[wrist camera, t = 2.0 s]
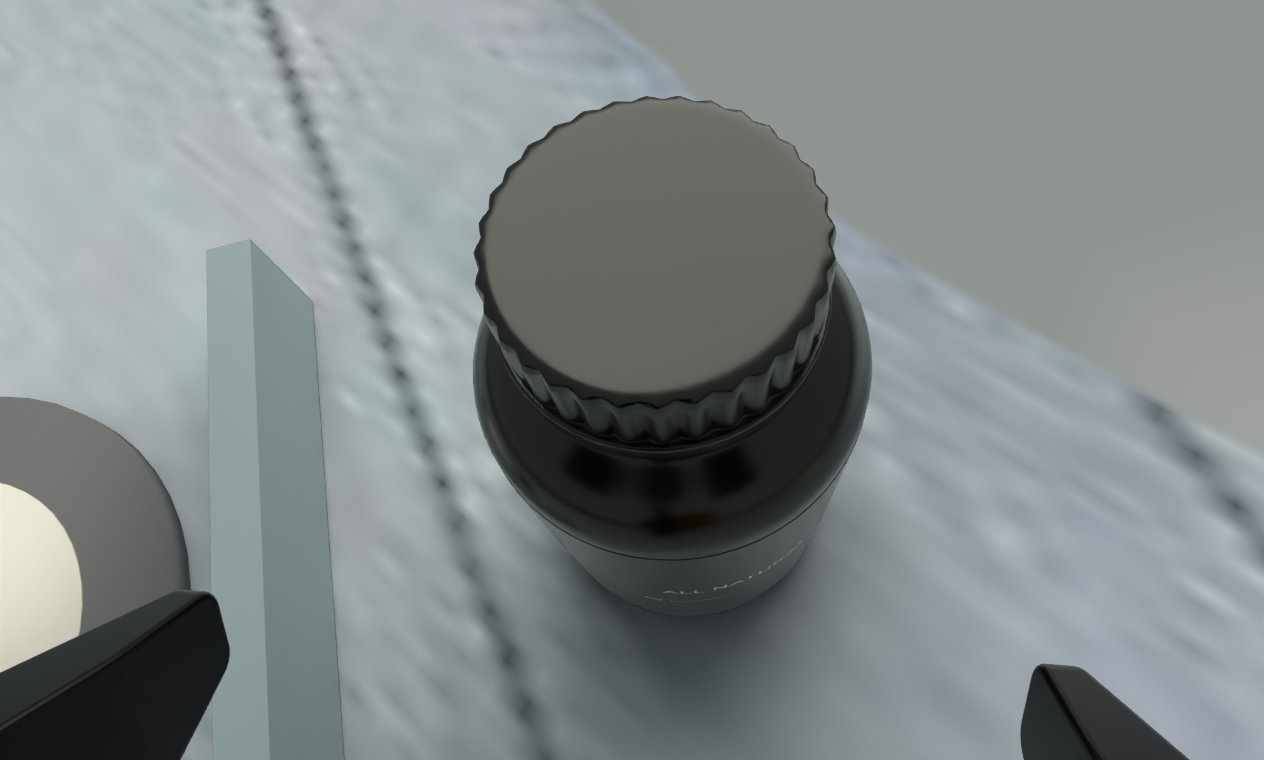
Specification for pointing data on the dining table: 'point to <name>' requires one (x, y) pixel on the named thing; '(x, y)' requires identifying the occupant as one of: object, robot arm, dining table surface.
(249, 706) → the acrylic wall
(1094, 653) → the dining table surface
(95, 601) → the mat
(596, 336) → the supplement bottle
